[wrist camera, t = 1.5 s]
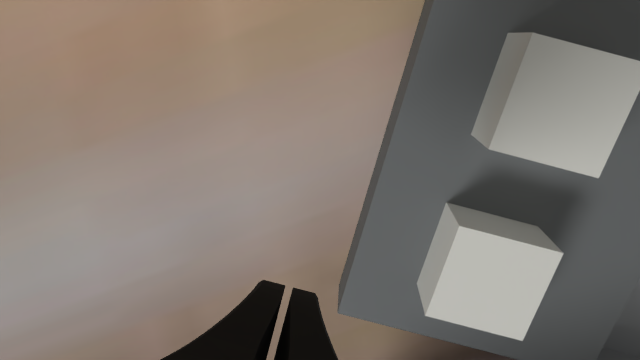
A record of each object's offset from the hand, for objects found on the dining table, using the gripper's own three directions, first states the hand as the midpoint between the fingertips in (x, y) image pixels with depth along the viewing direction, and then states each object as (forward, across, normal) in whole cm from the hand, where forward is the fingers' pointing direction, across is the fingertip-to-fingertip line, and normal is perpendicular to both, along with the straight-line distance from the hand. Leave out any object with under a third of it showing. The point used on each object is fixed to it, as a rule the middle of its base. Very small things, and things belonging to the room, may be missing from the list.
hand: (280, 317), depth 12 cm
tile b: (+8, -8, -7) cm, 13 cm away
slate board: (+10, -8, -3) cm, 14 cm away
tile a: (+8, -8, 0) cm, 11 cm away
